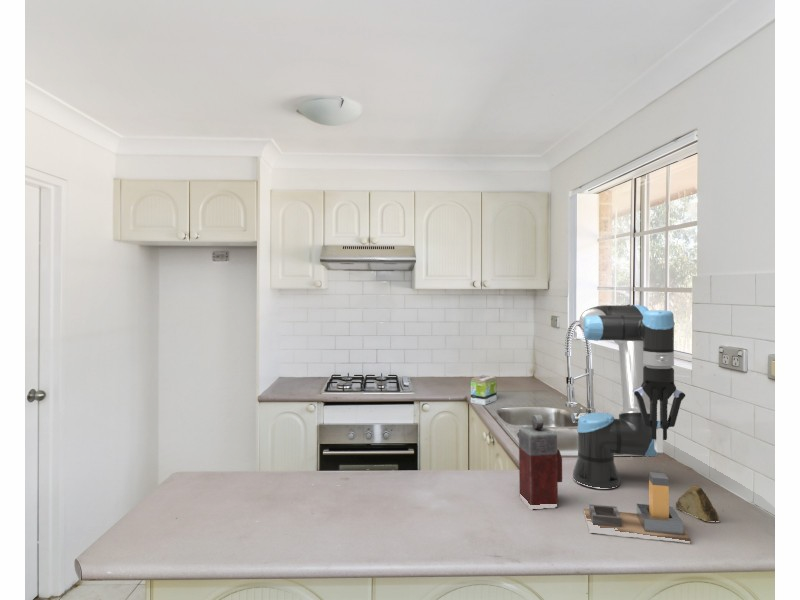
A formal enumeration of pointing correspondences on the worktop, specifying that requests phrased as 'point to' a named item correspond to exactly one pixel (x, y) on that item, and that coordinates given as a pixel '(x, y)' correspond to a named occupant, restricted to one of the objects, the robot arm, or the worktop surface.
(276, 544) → the worktop surface
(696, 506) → the rock
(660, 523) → the port
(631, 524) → the board
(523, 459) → the red rectangular canister
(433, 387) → the worktop surface
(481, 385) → the tea box
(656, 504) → the plug
